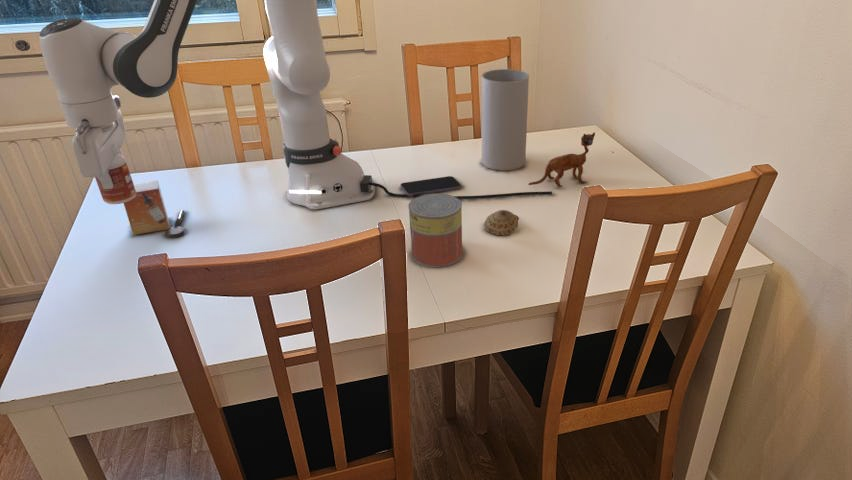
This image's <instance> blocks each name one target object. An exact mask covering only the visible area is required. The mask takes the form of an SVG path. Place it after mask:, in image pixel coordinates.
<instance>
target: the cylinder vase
mask: <svg viewBox="0 0 852 480" xmlns="http://www.w3.org/2000/svg"><path fill="white" fill-rule="evenodd" d="M529 81H530V74H528V73H527V72H525V71H523V70H517V69H509V68H508V69H507V68H501V69H500V68H498V69H492V70H491V69H490V70H487V71H485V72H483V73H482V75H481V163H482V164H483V166H484V167H486V168H488V169H490V170H493V171H500V172H507V171H515V170H518V169H520V168H522V167H523V166H524V165H525V164H526V157H527V154H526V153H527V132H528V106H529V104H528V103H529V83H530V82H529Z"/></svg>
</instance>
